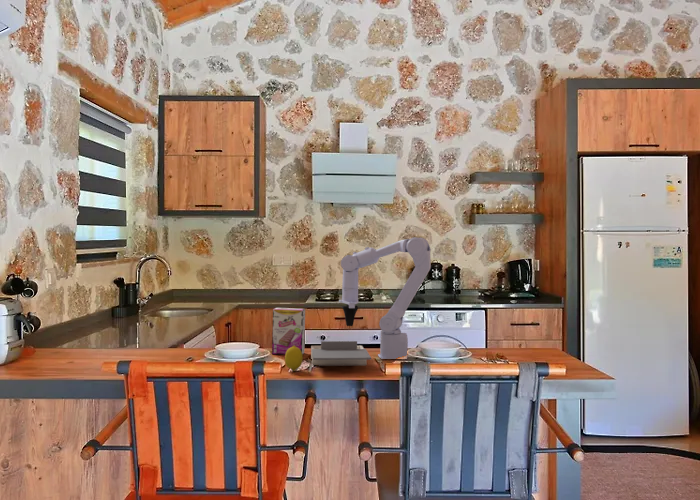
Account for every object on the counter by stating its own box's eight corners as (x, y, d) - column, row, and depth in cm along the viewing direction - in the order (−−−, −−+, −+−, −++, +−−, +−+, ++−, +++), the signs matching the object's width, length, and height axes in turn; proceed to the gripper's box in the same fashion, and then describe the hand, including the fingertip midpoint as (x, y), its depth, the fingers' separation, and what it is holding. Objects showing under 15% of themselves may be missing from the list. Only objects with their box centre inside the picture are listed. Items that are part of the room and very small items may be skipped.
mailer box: (361, 356, 200) (361, 345, 200) (366, 365, 186) (366, 353, 186) (311, 357, 198) (311, 345, 198) (312, 365, 184) (312, 353, 184)
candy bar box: (271, 354, 202) (272, 309, 201) (274, 352, 207) (275, 307, 206) (302, 355, 201) (303, 309, 200) (304, 353, 206) (305, 308, 205)
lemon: (299, 373, 174) (300, 347, 174) (282, 372, 175) (282, 346, 175) (304, 369, 179) (304, 344, 179) (287, 368, 180) (288, 343, 180)
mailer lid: (365, 350, 189) (365, 341, 189) (371, 359, 175) (371, 349, 175) (311, 350, 188) (312, 341, 188) (313, 359, 173) (313, 349, 173)
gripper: (337, 286, 210) (337, 322, 210) (340, 290, 196) (340, 329, 196) (356, 286, 211) (355, 322, 211) (360, 290, 196) (360, 329, 197)
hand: (349, 325), depth 204 cm, fingers closed
